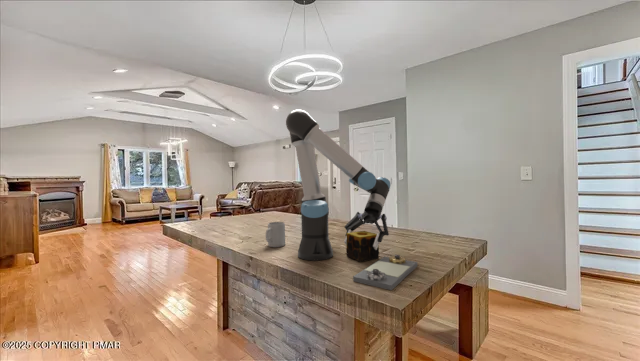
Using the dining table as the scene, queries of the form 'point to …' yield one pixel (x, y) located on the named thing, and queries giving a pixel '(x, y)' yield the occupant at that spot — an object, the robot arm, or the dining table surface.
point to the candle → (361, 246)
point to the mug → (275, 234)
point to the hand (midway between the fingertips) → (359, 246)
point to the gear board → (386, 272)
